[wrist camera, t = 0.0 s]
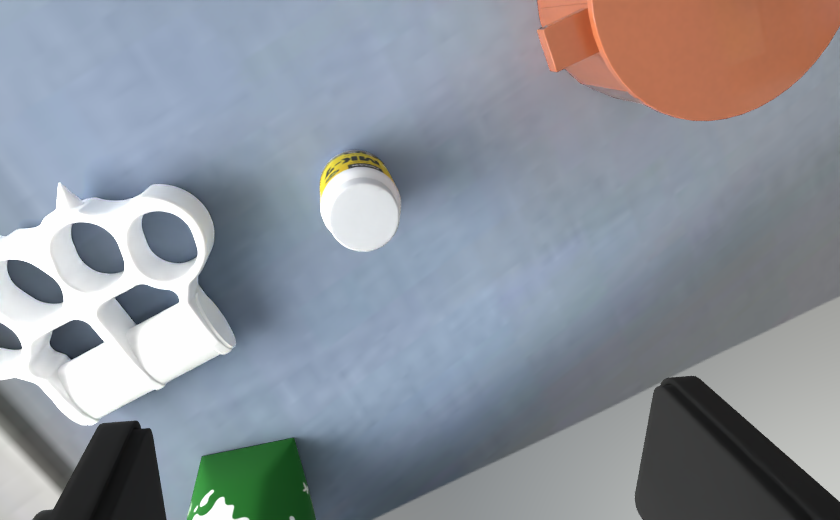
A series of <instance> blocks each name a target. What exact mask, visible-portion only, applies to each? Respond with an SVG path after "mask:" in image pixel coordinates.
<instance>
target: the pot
mask: <svg viewBox="0 0 840 520" xmlns="http://www.w3.org/2000/svg"><path fill="white" fill-rule="evenodd" d="M537 3H538V11H539V17H540V21H541V25H542V27H541V28H539V29H538V30H537V33H538V36H539V39H540V42H541V45H542V48H543V51H544V54H545V57H546V60H547V63H548V66H549V69H550V71H551V72H559V71H561V70H563V69H565V70H566V71H567V72H568V73H569V74H570V75H571V76H572V77H574V78H575V79H576V80H577V81H578V82H580V84H583V85H585V86H587V87H589V88H591V89H593V90H595V91H598V92H601V93H604V94H606V95H608V96H611V97H613V98H617V99H621V100H626V101H631V102H636V103H641V102H639V101H638V100H637V99H635V98H634V97H633V96H631V95H630V94H629V93H628V92H627V91H626V90H625V89H624V88H623V87H622V86H621V85H620V84H619V83H618V81H617V80H616V79H615V77H614V76H613V74H612V73H611V72H610V70H609V69H608V67H607V65H606V63H605V61H604V60H603V58H602V56H601V54H600V52H599V49H598V46H597V44H596V41H595V38H594V35H593V32H592V28H591V23H590V19H589V14H588V4H587V0H537ZM641 104H642V103H641Z"/></svg>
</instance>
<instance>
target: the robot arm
mask: <svg viewBox="0 0 840 520" xmlns="http://www.w3.org/2000/svg"><path fill="white" fill-rule="evenodd" d="M635 503H636V508H637V510H638V513H639V514H640V516H641V517H642V519H643V520H840V502H839V501H838V500H837V499H836V498H835V497H833V496H832V495H831V494H830V493H829V492H828V491H827V490H826V489H824V488H823V487H822V486H821V485H820V484H819V483H818V482H816V481H815V480H814V479H813V478H812V477H811V476H810V475H808V474H807V473H806V472H805V471H804V470H803V469H801V468H800V467H799V466H798V465H797V464H796V463H795V462H794V461H793V460H791V459H790V458H789V457H788V456H787V455H785V453H783V452H782V451H781V450H780V449H779V448H778V447H776V446H775V445H774V444H773V443H772V442H771V441H770V440H769V439H768V438H766V437H765V436H764V435H763V434H762V433H761V432H759V431H758V430H757V429H756V428H755V427H754V426H753V425H751V424H750V423H749V422H748V421H747V420H746V419H745V418H744V417H742V416H741V415H740V414H739V413H738V412H737V411H736V410H734V409H733V408H732V407H731V406H730V405H729V404H728V403H727V402H725V401H724V400H723V399H722V398H721V397H720V396H719V395H717V394H716V393H715V392H714V391H713V390H712V389H710V388H709V387H708V386H707V385H706V384H705V383H704V382H703V381H702V380H700V379H699V378H697V377H696V376H686V377H672V378H666V379H664V380H663V381H662V383H661V385H660V386H658V387H656V388H655V390H654V393H653V398H652V403H651V409H650V415H649V420H648V426H647V431H646V437H645V442H644V448H643V453H642V459H641V464H640V470H639V475H638V481H637V487H636V492H635ZM33 520H166V514H165V508H164V501H163V495H162V489H161V483H160V477H159V470H158V464H157V458H156V452H155V446H154V439H153V434H152V431H151V429H150V428H146V429H141V426H140V424H139V422H138V421H125V422H112V423H102V424H100V425H99V426H98V428H97V429H96V431H95V433H94V435H93V437H92V439H91V440H90V442H89V444H88V446H87V448H86V450H85V452H84V453H83V455H82V457H81V459H80V461H79V463H78V465H77V466H76V468H75V470H74V472H73V474H72V476H71V478H70V479H69V481H68V483H67V485H66V487H65V489H64V491H63V492H62V494H61V496H60V498H59V500H58V502H57V504H56V505H55V507H54V509H53V510H43V511H41V512H39V513H38V514H36V516H35V517H34V518H33Z"/></svg>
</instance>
